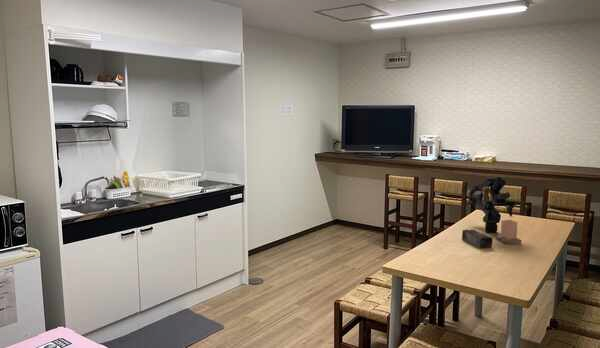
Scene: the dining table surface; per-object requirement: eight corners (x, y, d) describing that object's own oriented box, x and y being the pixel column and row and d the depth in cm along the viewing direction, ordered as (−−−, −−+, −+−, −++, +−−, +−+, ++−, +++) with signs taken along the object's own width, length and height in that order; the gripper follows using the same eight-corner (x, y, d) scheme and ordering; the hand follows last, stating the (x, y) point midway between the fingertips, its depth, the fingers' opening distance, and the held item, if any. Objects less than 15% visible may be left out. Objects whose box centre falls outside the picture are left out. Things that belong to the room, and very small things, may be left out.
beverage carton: (473, 238, 271) (474, 228, 270) (492, 248, 252) (493, 237, 251) (461, 239, 269) (462, 228, 268) (480, 249, 250) (480, 238, 249)
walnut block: (495, 240, 268) (496, 235, 268) (511, 239, 269) (512, 235, 268) (504, 245, 258) (504, 240, 258) (521, 245, 259) (521, 240, 259)
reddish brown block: (500, 236, 265) (501, 220, 263) (509, 235, 266) (510, 219, 265) (507, 239, 259) (508, 223, 258) (516, 238, 261) (517, 222, 259)
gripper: (486, 187, 270) (494, 209, 261) (516, 187, 271) (525, 209, 262) (479, 198, 279) (487, 219, 270) (508, 197, 280) (516, 218, 271)
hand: (504, 216), depth 268 cm, fingers open, 9 cm apart
